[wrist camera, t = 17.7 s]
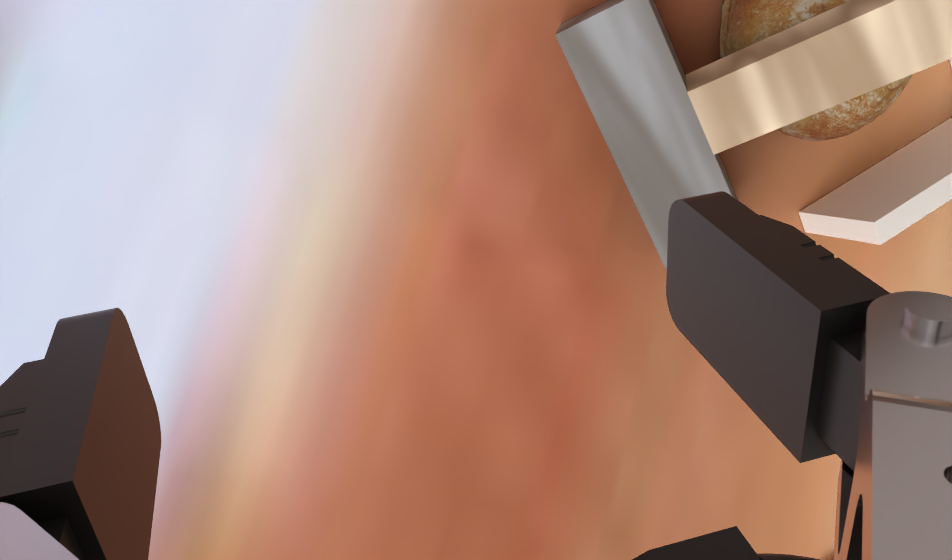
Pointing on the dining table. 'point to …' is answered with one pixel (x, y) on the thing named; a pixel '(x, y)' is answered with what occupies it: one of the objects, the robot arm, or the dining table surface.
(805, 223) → the box
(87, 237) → the dining table surface
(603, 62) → the scraper
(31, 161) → the dining table surface
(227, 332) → the dining table surface
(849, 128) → the bread roll
